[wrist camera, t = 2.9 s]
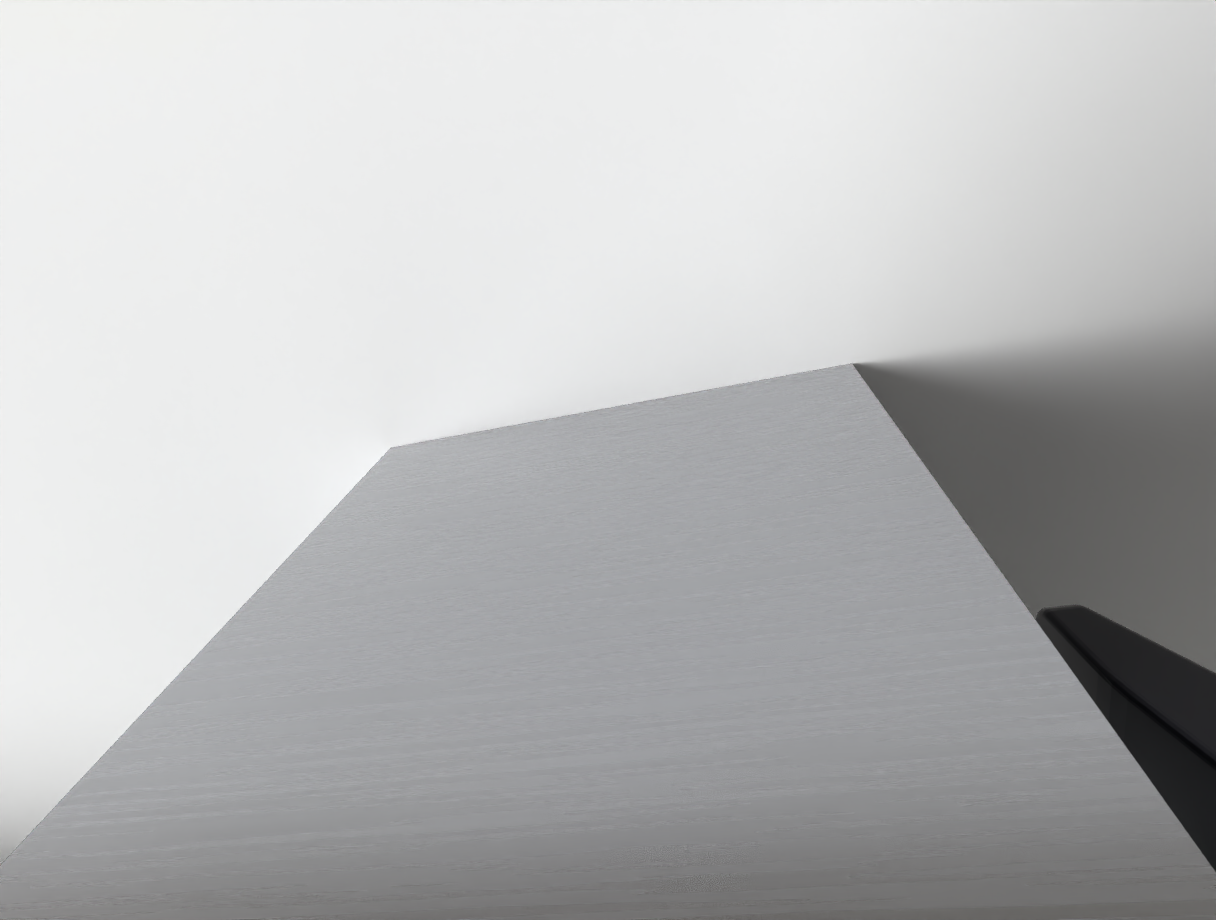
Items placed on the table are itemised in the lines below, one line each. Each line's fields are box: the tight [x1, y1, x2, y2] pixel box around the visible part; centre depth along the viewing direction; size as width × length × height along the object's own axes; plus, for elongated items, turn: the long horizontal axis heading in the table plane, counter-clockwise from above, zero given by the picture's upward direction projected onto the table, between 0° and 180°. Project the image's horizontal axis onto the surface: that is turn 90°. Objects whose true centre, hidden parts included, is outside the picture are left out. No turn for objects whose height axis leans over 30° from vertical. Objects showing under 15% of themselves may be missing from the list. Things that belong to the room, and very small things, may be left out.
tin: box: [0, 364, 1216, 920], centre depth 7 cm, size 6×6×7 cm
